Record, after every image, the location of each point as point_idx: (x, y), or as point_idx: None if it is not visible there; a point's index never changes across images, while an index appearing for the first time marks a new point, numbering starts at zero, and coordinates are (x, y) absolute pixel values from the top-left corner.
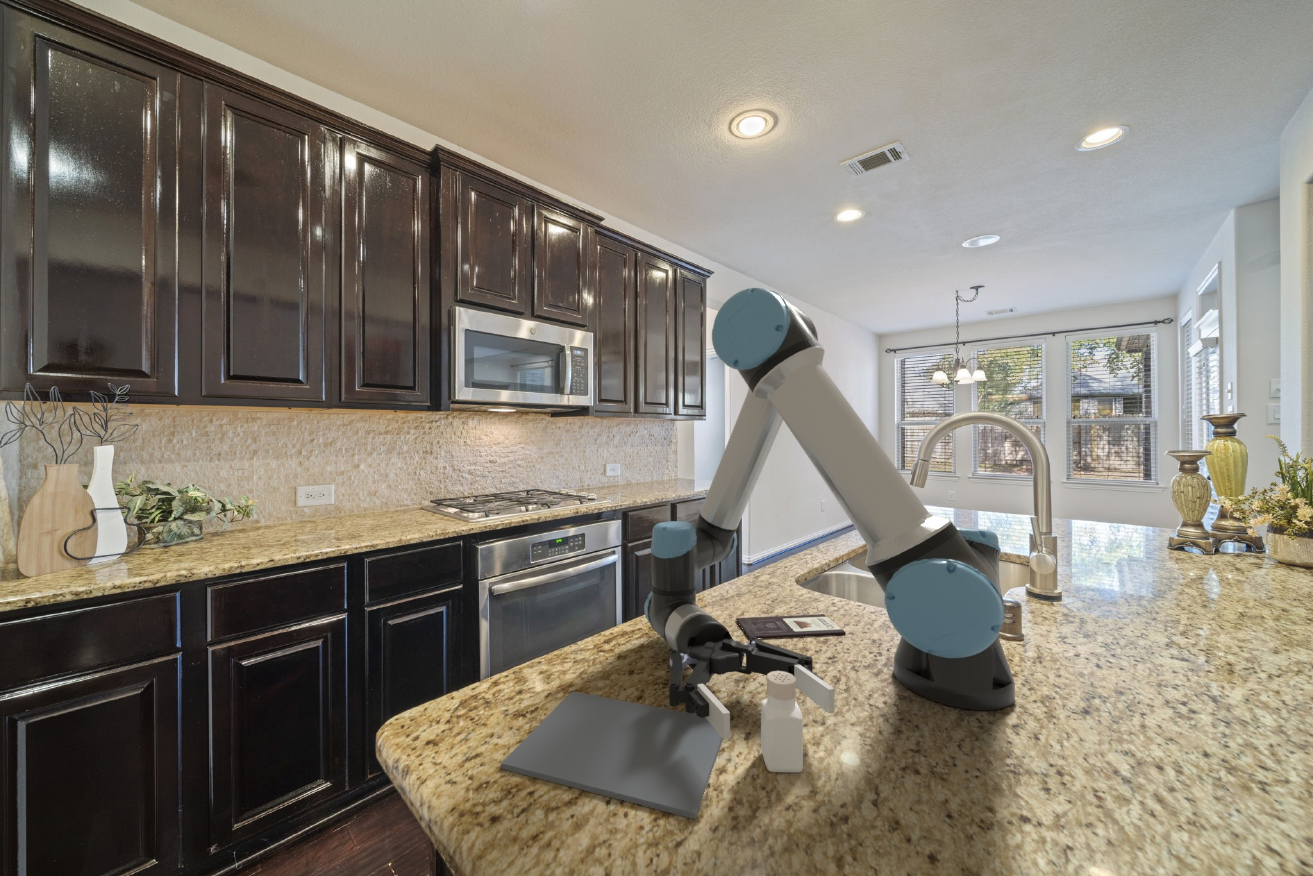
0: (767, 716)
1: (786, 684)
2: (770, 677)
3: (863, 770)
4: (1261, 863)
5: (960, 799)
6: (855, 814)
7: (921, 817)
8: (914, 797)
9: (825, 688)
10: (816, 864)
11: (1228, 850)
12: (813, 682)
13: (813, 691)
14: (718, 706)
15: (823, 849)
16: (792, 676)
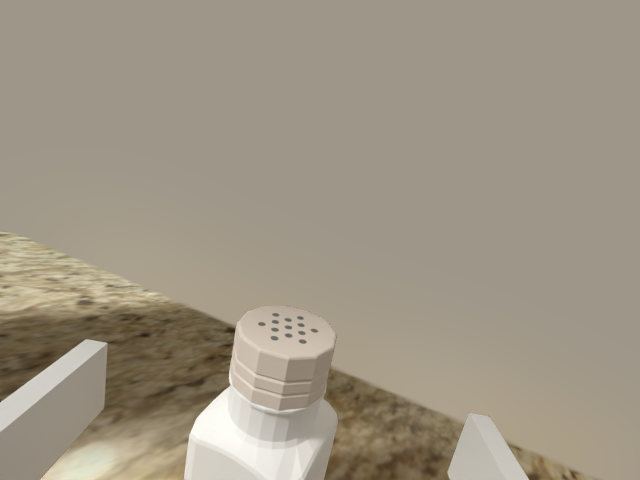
0: (335, 415)
1: (302, 310)
2: (322, 341)
3: (117, 426)
4: (28, 239)
5: (93, 335)
6: None
7: (175, 348)
8: (136, 362)
9: (95, 356)
10: (350, 376)
11: (21, 244)
12: (41, 411)
13: (42, 443)
14: (506, 450)
15: (329, 381)
16: (249, 316)
